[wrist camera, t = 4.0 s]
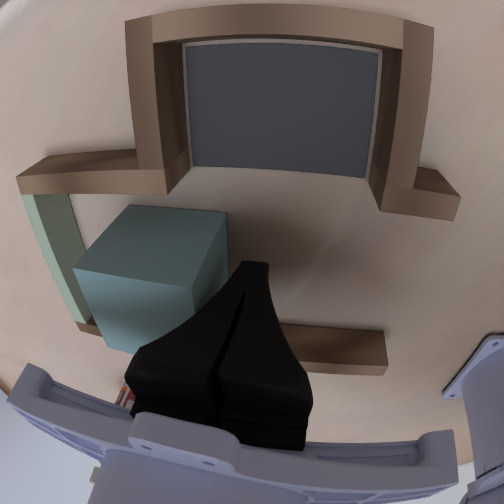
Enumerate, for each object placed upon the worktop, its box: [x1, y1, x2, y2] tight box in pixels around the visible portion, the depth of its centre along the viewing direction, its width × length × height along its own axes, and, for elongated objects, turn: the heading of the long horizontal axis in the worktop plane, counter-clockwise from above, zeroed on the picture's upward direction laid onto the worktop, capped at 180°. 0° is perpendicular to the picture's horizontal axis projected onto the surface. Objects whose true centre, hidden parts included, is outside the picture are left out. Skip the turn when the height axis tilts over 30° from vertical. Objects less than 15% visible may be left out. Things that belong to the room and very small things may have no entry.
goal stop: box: [21, 194, 92, 324], centre depth 16 cm, size 1×9×2 cm, turn 1°
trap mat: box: [186, 43, 378, 178], centre depth 11 cm, size 7×5×1 cm
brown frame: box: [16, 4, 461, 376], centre depth 13 cm, size 19×16×2 cm
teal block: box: [73, 205, 228, 355], centre depth 14 cm, size 5×5×5 cm
